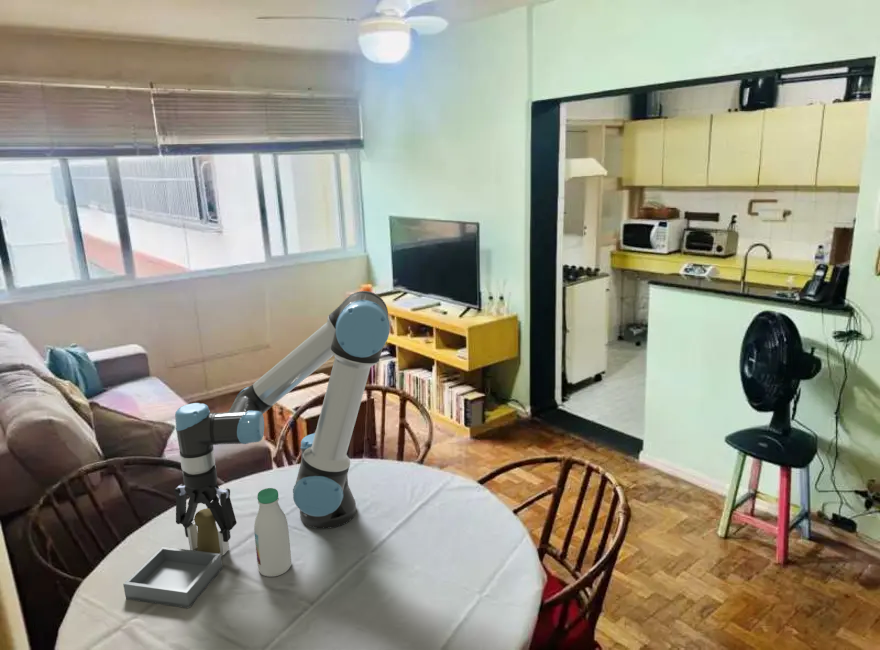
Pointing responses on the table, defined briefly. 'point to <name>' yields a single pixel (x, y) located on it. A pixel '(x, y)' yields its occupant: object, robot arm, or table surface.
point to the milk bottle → (271, 535)
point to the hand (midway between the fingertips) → (209, 549)
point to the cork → (207, 532)
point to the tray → (173, 577)
